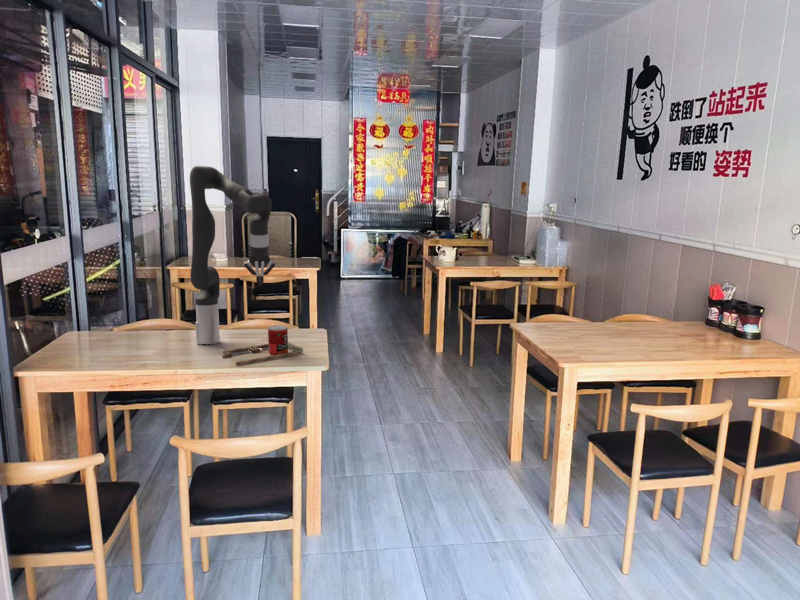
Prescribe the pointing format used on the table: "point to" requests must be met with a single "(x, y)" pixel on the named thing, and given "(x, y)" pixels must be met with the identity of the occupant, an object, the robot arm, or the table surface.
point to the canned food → (278, 339)
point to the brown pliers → (255, 349)
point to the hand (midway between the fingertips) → (260, 284)
